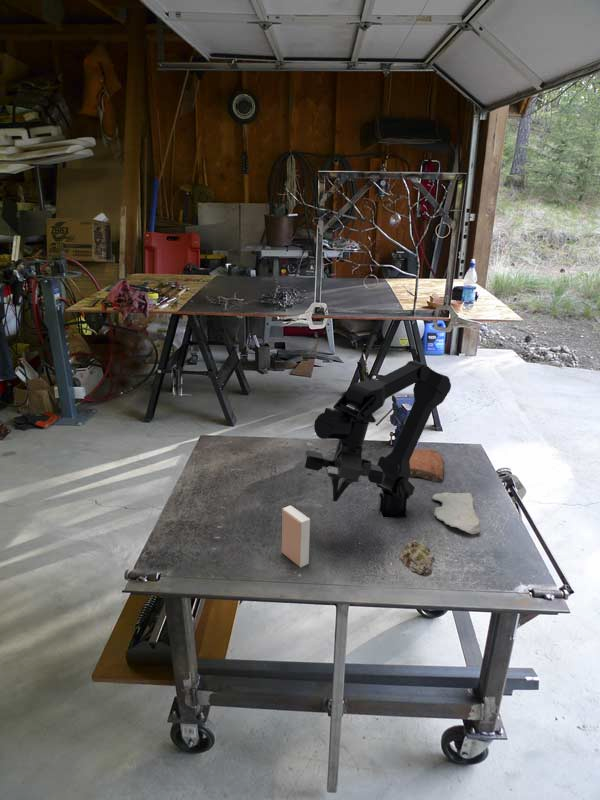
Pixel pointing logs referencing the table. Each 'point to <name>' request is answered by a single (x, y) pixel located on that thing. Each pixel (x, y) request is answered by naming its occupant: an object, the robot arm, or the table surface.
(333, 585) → the table surface
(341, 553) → the table surface
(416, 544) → the mineral rock
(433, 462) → the ceramic shard
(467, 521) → the stone
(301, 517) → the tile
